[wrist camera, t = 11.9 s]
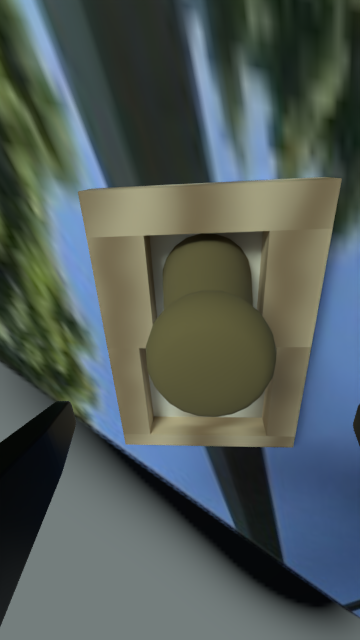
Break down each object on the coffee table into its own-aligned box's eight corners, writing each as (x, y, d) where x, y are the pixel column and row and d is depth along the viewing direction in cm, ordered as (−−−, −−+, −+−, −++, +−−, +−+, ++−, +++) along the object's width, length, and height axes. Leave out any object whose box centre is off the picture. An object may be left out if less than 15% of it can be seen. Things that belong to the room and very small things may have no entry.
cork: (221, 330, 22) (236, 460, 12) (147, 294, 21) (102, 403, 11) (269, 260, 20) (337, 355, 10) (188, 215, 19) (174, 270, 9)
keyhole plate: (324, 177, 17) (341, 178, 15) (285, 424, 27) (293, 447, 24) (92, 188, 19) (77, 191, 16) (131, 422, 28) (125, 444, 26)
